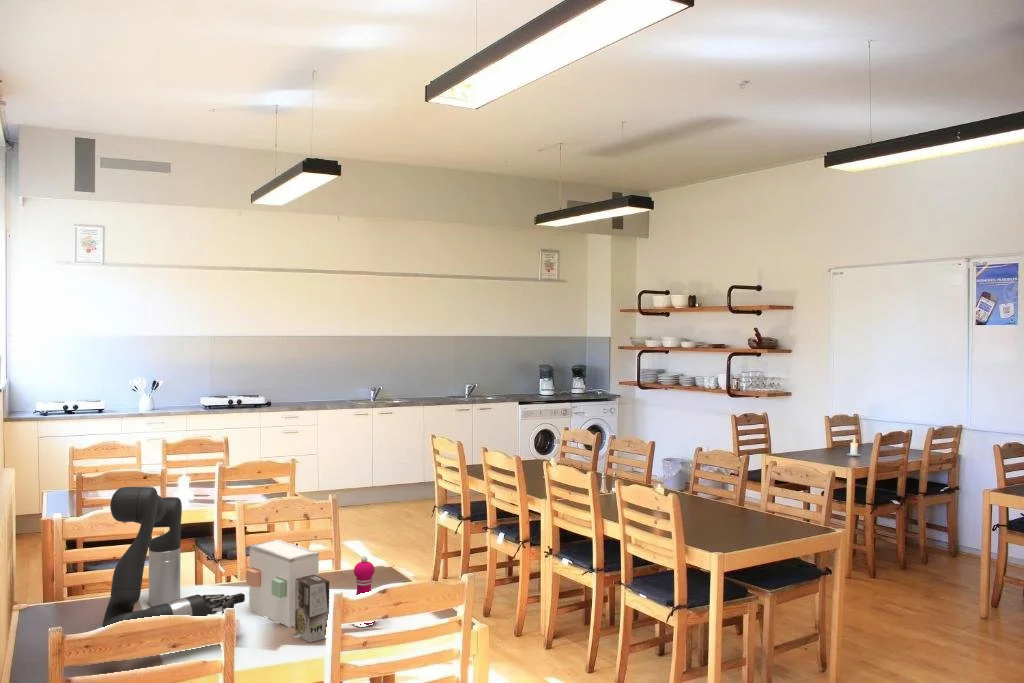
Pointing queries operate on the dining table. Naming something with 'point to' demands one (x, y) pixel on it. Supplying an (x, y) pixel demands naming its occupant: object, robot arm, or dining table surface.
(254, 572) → the terracotta button
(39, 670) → the dining table surface
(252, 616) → the dining table surface
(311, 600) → the coffee box
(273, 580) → the sage button
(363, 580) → the pepper mill
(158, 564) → the robot arm
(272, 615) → the button panel
